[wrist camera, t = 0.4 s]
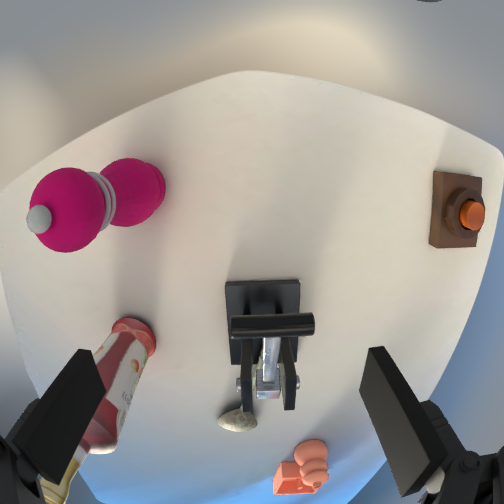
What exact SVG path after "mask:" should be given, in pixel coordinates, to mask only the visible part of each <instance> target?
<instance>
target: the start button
mask: <svg viewBox="0 0 504 504" xmlns="http://www.w3.org/2000/svg"><path fill="white" fill-rule="evenodd" d="M459 217H460V222H461V224H462V225H463V226H464V227H466V228H469V229H471V230H478V229H479V228H480V227H481V226H482V224H483V222H484V219H485V211H484V208H483V206H482V205H481V204H480V203H478V202H475V201H471V200H468V201H466V202H464V203H463V205H462V206H461V209H460V213H459Z"/></svg>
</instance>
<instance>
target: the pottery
mask: <svg viewBox="0 0 504 504" xmlns="http://www.w3.org/2000/svg"><path fill="white" fill-rule="evenodd" d="M327 457H328V448H327V447H326V445H325V443H324V442H323V441H320V440H309V441H305V442H303V443H301V444H299V445H298V446H297V447H296V448H295V453H294V458H295V461H296V462H281V463H280V466H279V468H278V470H277V472H276V475H275V477H274V479H273V489H274V495H285V494H309V493H316V491H317V490H318V489H319V488H321V487H322V484H323V483H325V482H326V481H327V480H328V479H329V474H328V473H327V471H328V465H327V463H326V462H325V460H326V459H327Z"/></svg>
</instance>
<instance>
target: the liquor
mask: <svg viewBox="0 0 504 504" xmlns="http://www.w3.org/2000/svg"><path fill="white" fill-rule="evenodd" d="M155 349H156V339H155V336H154V334H153V333H152V331H151V330H150V329H149V328H148V327H147V326H146V325H145V324H143V323H142V322H140V321H138V320H135V319H132V318H123V319H119V320H118V321H116V322H115V323H114V325H113V327H112V333H111V334H110V335H109V337H108V338H107V339H106V340H105V342H104V343H103V344H102V345H101V347H100V348H99V349H98V350H97V352H96V353H95V354H94V355H93V358H94V361H95V363H96V366H97V369H98V371H99V374H100V376H101V379H102V381H103V384H104V386H105V389H106V393H105V395H104V397H103V399H102V401H101V402H100V404H99V406H98V408H97V410H96V412H95V414H94V416H93V418H92V419H91V421H90V423H89V425H88V427H87V429H86V431H85V433H84V435H83V437H82V439H81V441H80V443H79V445H78V447H77V449H76V451H75V453H74V455H73V457H72V459H71V461H70V463H69V465H68V468H67V470H66V472H65V474H64V476H63V478H62V480H61V483H60V485H59V486H58V485H55V484H53V483H51V482H49V481H46V480H45V479H44V478H43V477H42V478H41V480H40V484H41V488H42V491H43V494H44V498H45V501H46V502H48V503H50V504H65V502H66V499H67V497H68V494H69V488H70V482H71V481H72V479H73V477H74V476H75V474H76V472H77V471H78V469H79V467H80V466H81V464H82V462H83V461H84V459H85V457H86V456H87V454H88V453H93V454H105V453H111V452H113V451H114V450H115V448H116V445H117V442H118V439H119V436H120V433H121V430H122V427H123V424H124V422H125V419H126V416H127V413H128V410H129V407H130V404H131V401H132V398H133V395H134V392H135V389H136V387H137V384H138V382H139V379H140V376H141V374H142V371H143V369H144V367H145V364H146V362H147V360H148V357H150V356H151V355H152V354H153V353H154V352H155Z"/></svg>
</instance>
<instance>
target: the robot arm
mask: <svg viewBox="0 0 504 504" xmlns="http://www.w3.org/2000/svg"><path fill="white" fill-rule="evenodd" d="M359 392H360V394H361V397H362V399H363V401H364V404H365V406H366V409H367V411H368V413H369V416H370V418H371V421H372V423H373V425H374V428H375V430H376V433H377V435H378V438H379V440H380V443H381V445H382V448H383V450H384V453H385V455H386V458H387V460H388V463H389V466H390V468H391V471H392V473H393V476H394V479H395V481H396V484H397V486H398V489H399V492H400V495H401V497H405V496H408V495H410V494H413V493H416V492H418V491H420V490H421V488H422V487H423V486H424V485H425V486H426V488H427V491H426V492H425V493H424V494H423V496H422V497H421V498H420V499H419V500H418V502H419V503H420V502H421V501H422V502H421V504H504V446H503V447H502V448H501V449H500V450H499V451H498V453H494V454H489V455H483V456H479V455H478V454H477V453H475V452H473V451H466V450H465V448H464V447H463V445H462V444H461V442H460V441H459V439H458V437H457V435H456V434H455V432H454V430H453V429H452V427H451V426H450V424H448V421H447V419H446V418H445V417H444V415H443V413H442V411H441V410H440V408H439V407H438V406H437V405H436V404H434V403H433V402H431V401H430V400H427V401H424V402H419V401H418V399H417V398H416V396H415V394H414V393H413V391H412V389H411V388H410V386H409V385H408V383H407V381H406V380H405V378H404V377H403V375H402V373H401V372H400V370H399V369H398V367H397V366H396V364H395V363H394V361H393V359H392V358H391V356H390V355H389V353H388V352H387V350H386V349H385V347H384V346H379V347H372V348H369V350H368V355H367V359H366V364H365V368H364V372H363V377H362V381H361V385H360V389H359ZM105 393H106V389H105V386H104V384H103V381H102V379H101V376H100V374H99V371H98V369H97V366H96V363H95V361H94V358H93V355H92V353H91V350H84V349H78V350H77V352H76V353H75V354H74V355H73V357H72V358H71V359H70V360H69V362H68V363H67V364H66V366H65V367H64V368H63V369H62V371H61V372H60V373H59V375H58V376H57V377H56V379H55V380H54V381H53V383H52V384H51V385H50V387H49V388H48V389H47V391H46V392H45V393H44V395H43V396H42V397H41V399H38V398H37V399H35V400H34V401H33V402H31V403H30V404H29V405H28V407H27V408H26V409H25V411H24V413H22V415H21V416H20V419H18V420H17V422H16V423H15V425H14V426H13V428H12V429H11V431H10V432H9V434H8V435H7V437H6V438H5V439H3V437H2V436H1V435H0V504H46V501H45V498H44V494H43V491H42V488H41V484H40V481H39V479H38V478H37V475H38V473H39V474H40V475H41V476H42V477H43V478H44V479H45V480H46V481H49V482H51V483H53V484H55V485H58V486H59V485H60V483H61V480H62V478H63V476H64V474H65V472H66V470H67V468H68V465H69V463H70V461H71V459H72V457H73V455H74V453H75V451H76V449H77V447H78V445H79V443H80V441H81V439H82V437H83V435H84V433H85V431H86V429H87V427H88V425H89V423H90V421H91V419H92V418H93V416H94V414H95V412H96V410H97V408H98V406H99V404H100V402H101V401H102V399H103V397H104V395H105Z"/></svg>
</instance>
